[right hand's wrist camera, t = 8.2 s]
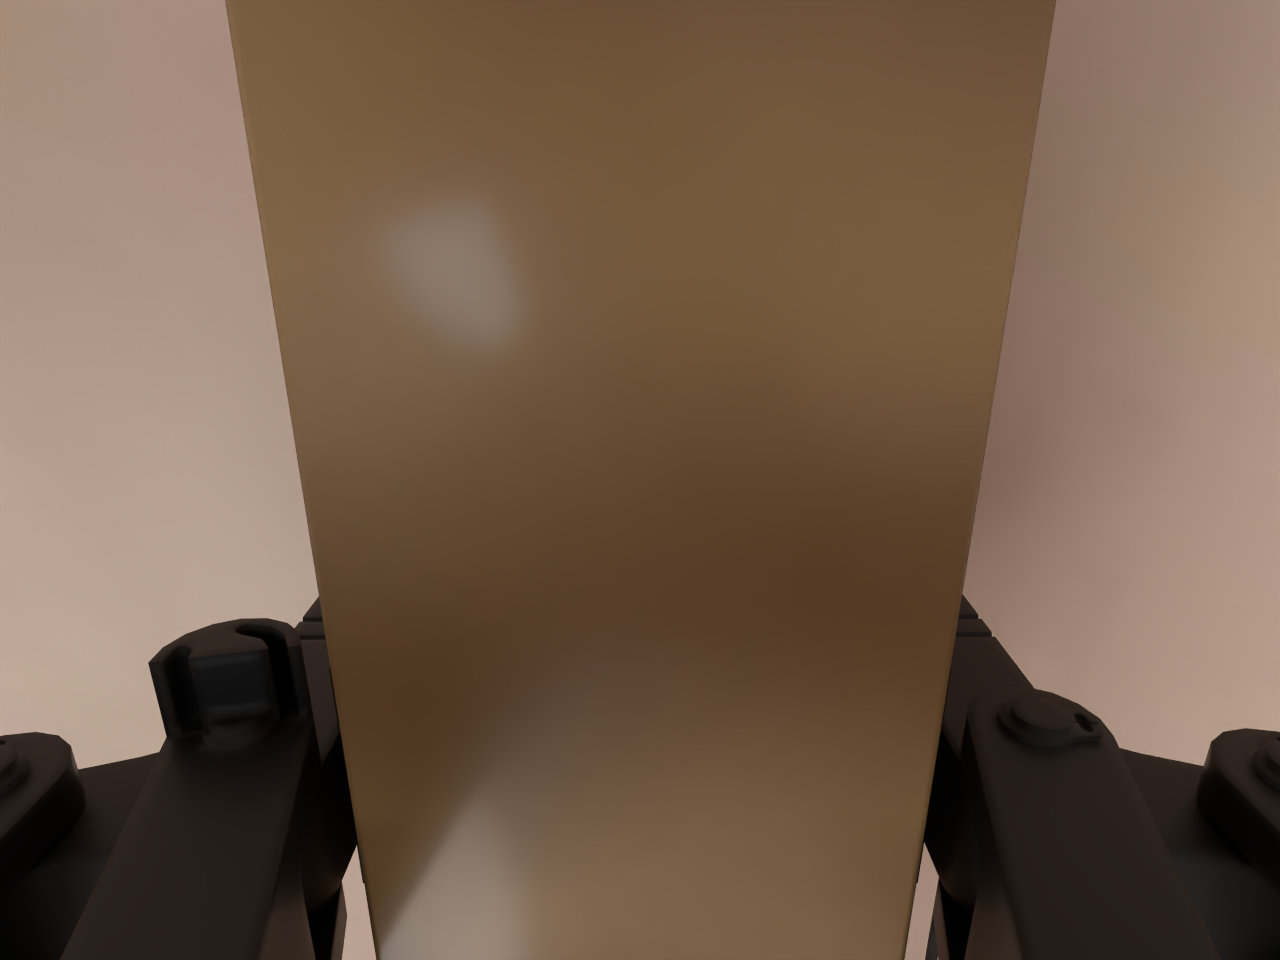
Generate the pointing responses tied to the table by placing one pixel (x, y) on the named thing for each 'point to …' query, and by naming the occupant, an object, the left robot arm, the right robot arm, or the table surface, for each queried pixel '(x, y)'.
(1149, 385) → the table surface
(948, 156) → the post
